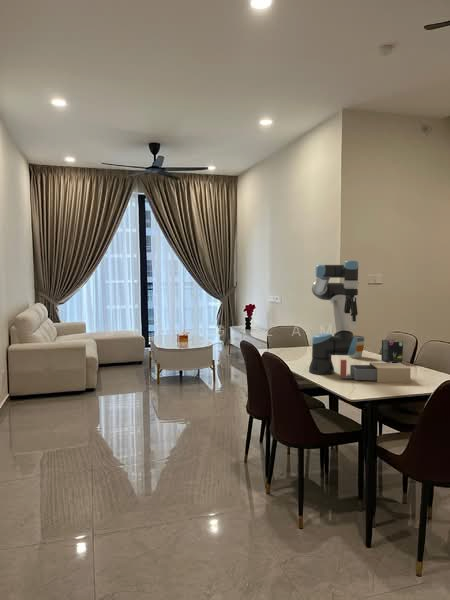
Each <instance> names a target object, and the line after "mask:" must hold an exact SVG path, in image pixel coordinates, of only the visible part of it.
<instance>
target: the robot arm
mask: <svg viewBox="0 0 450 600" xmlns="http://www.w3.org/2000/svg"><path fill="white" fill-rule="evenodd" d="M359 269H360V268H359V262H358V261H357V260H346V261H344V264H317V265H316V266H315V277H316V280H315V282H313V283H312V286H311V292H312V294H313V295H314V296H315V297H316V298H317V299H319V300H323V301H329V303H330V304H331V305H333V315H334V316H333V317H334V324H335V333H334V334H333V335H332V333H319V334H315V335H313V336H312V340H311V361H310V363H309V366H308V367H309V368H308V371H309V373H311V374H314V375H332V374H334V373H335V368H334V364H333V362H332V361H333V360H332V356H348V357H349V355H354V354H355V352H356V348H357V337H356V336H357V335H354V333H353V332H352V331H351V329H350V328H357V316H358V313H359V312H358V306H357V297H356V296H359V295H358V294H359V289H358V288H359ZM332 278H334V279H335V278H339V279H340V278H341V279H343V280H344V281H343V282H329V281H330V279H332Z"/></svg>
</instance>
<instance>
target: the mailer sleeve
mask: <svg viewBox="0 0 450 600" xmlns="http://www.w3.org/2000/svg"><path fill="white" fill-rule="evenodd" d="M369 365H373V366H374V367H376V368H377V380H374V381H375V382H376V383H411V369H412V368H411V367H409V366H407V365H406V364H403V362H398V363H388V362H369Z"/></svg>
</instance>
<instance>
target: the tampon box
mask: <svg viewBox="0 0 450 600" xmlns="http://www.w3.org/2000/svg"><path fill="white" fill-rule="evenodd" d="M403 351H404V341H402V340H398V339H381V357H380V359H381V361H382V362H384V363H388V362H389V363H391V362H398V363H403V355H404V354H403V353H404V352H403Z"/></svg>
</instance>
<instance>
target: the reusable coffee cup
mask: <svg viewBox="0 0 450 600" xmlns="http://www.w3.org/2000/svg"><path fill="white" fill-rule="evenodd" d="M355 336H356V337H357V348H356V352H355V354H354V355H348V358H350V357H351V358H350V359H361V358H362V356H363V352H364V346H365V343H364V342H365V336H363V335H355ZM360 357H361V358H360Z"/></svg>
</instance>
